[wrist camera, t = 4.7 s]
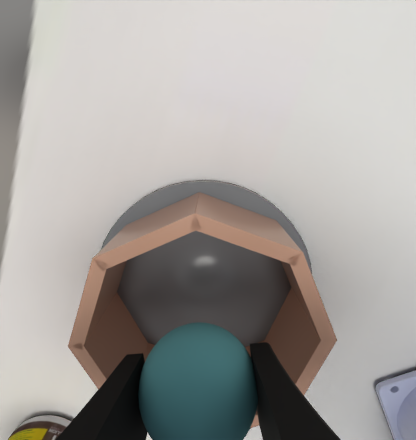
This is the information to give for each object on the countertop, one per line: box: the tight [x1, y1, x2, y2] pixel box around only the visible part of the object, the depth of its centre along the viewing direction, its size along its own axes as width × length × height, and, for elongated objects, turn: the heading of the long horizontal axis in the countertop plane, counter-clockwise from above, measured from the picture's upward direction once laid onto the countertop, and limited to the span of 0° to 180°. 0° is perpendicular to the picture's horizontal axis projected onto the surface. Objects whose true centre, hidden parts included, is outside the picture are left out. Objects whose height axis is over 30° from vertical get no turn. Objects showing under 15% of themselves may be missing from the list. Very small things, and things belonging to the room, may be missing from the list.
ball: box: [138, 322, 258, 440], centre depth 9 cm, size 4×4×4 cm
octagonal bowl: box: [68, 180, 337, 428], centre depth 14 cm, size 12×12×5 cm
